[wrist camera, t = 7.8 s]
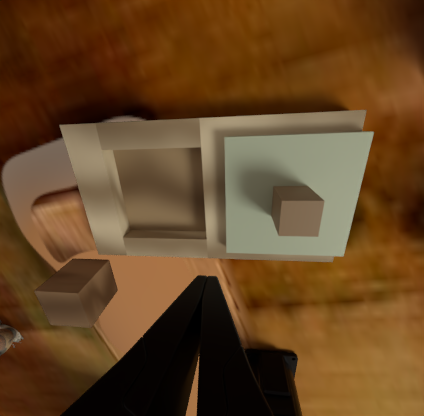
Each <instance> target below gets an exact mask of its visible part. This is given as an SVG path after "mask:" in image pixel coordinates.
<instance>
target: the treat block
mask: <svg viewBox="0 0 424 416" xmlns="http://www.w3.org/2000/svg"><path fill="white" fill-rule="evenodd" d="M34 292H35V294H36V296H37V298H38V300H39V302H40V304H41V306H42V308H43V310H44V312H45V314H46V316H47V318H48V320H49V322H50V324H51V325H62V326H75V327H88V328H91V327H92V326H93V325H94V323H95V322H96V320H97V319H98V317H99V316H100V315H101V313H102V312H103V310H104V309H105V307H106V306H107V305H108V303H109V302H110V300H111V299H112V298H113V296H114V295H115V293H116V292H117V286H116V282H115V279H114V275H113V272H112V268H111V265H110V261H109V260H102V259H72V260H71V261H70V262H68V263H67V264H66V265H65V266H64V267H62V268H61V269H60V270H59V271H58V272H56V273H55V274H54V275H53V276H52V277H50V278H49V279H48V280H47V281H46V282H44V283H43V284H42V285H41V286H40V287H38V288H37V289H36V290H35V291H34Z"/></svg>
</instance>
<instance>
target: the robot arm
mask: <svg viewBox="0 0 424 416" xmlns="http://www.w3.org/2000/svg"><path fill="white" fill-rule="evenodd" d="M199 353H200V354H199ZM198 357H199V376H198V377H199V378H198V400H197V416H302V412H301V408H300V404H299V399H298V395H297V390H296V386H295V381H294V377H295V372H296V366H297V361H298V358H297V355H296V354H295V353H286V352H274V351H262V350H250V349H247V350H245V351H244V348H243V346H242V343H241V341H240V338H239V335H238V332H237V330H236V327H235V324H234V321H233V319H232V316H231V313H230V310H229V308H228V305H227V302H226V299H225V297H224V294H223V291H222V289H221V286H220V283H219V280H218V278H217V277H216V276H208V277H207V276H201V275H198V276H197V277H196V278H195V279H194V280H193V281H192V282H191V283H190V284H189V286H188V287H187V288H186V289H185V290H184V291H183V292H182V293H181V294H180V296H178V298H177V299H176V300H175V301H174V302H173V303H172V304H171V305H170V306H169V307H168V309H167V310H166V311H165V312H164V313H163V314H162V315H161V316H160V317H159V319H158V320H157V321H156V322H155V323H154V324H153V325H152V326H151V327H150V329H148V330H147V332H146V333H145V334H144V335H143V337H141V338H140V339H139V340H138V342H137V343H136V344H135V345H134V346H133V347H132V348H131V349H130V350H129V351H128V352H127V353H126V354H125V355H124V356H123V357H122V358H121V359H120V360H119V361H118V362H117V363H116V364H115V365H114V366H113V367H112V368H111V369H110V370H109V371H108V372H107V373H106V374H105V375H104V376H102V377H101V378H100V379H99V380H98V381H97V382H96V383H95V384H94V385H93V386H92V387H91V388H89V389H88V390H87V391H86V392H85V393H84V394H83V395H82V396H81V397H80V398H79V399H78V400H76V401H75V402H74V403H73V404H72V405H71V406H70V407H69V408H68V409H67V410H66V411H65V412H63V413H62V414H61V415H60V416H185V415H186V410H187V406H188V402H189V397H190V393H191V388H192V384H193V379H194V375H195V370H196V366H197V362H198Z"/></svg>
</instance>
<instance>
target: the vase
mask: <svg viewBox="0 0 424 416" xmlns="http://www.w3.org/2000/svg"><path fill="white" fill-rule="evenodd" d="M0 322H1V320H0ZM0 324H1V323H0ZM21 339H24V338H23V337H21V335H20V333H19V332H18V331H17V330H16V329H15V328H13V327H10V326H7V325H0V355H2V354H3V353H5V352H6V351H7V350H8V349H9V347H10V346H11V345H12V343H13V342H19V341H21ZM13 347H14V346H13ZM14 348H15V347H14Z"/></svg>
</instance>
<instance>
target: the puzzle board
mask: <svg viewBox="0 0 424 416" xmlns="http://www.w3.org/2000/svg"><path fill="white" fill-rule="evenodd" d="M366 111H367V110H355V111H334V112H314V113H293V114H273V115H253V116H232V117H212V118H191V119H171V120H151V121H131V122H110V123H89V124H69V125H60V129H61V132H62V135H63V139H64V142H65V145H66V148H67V152H68V155H69V158H70V162H71V165H72V168H73V171H74V175H75V178H76V181H77V185H78V188H79V191H80V194H81V198H82V201H83V204H84V208H85V211H86V214H87V217H88V221H89V224H90V227H91V231H92V234H93V237H94V240H95V244H96V247H97V250H98V254H100V255H131V256H132V255H133V256H163V257H192V258H223V259H254V260H285V261H316V262H333V258H334V256H317V255H283V254H248V253H226V196H225V139H224V137H228V136H254V135H281V134H307V133H334V132H360V131H362V128H363V124H364V120H365V115H366Z"/></svg>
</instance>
